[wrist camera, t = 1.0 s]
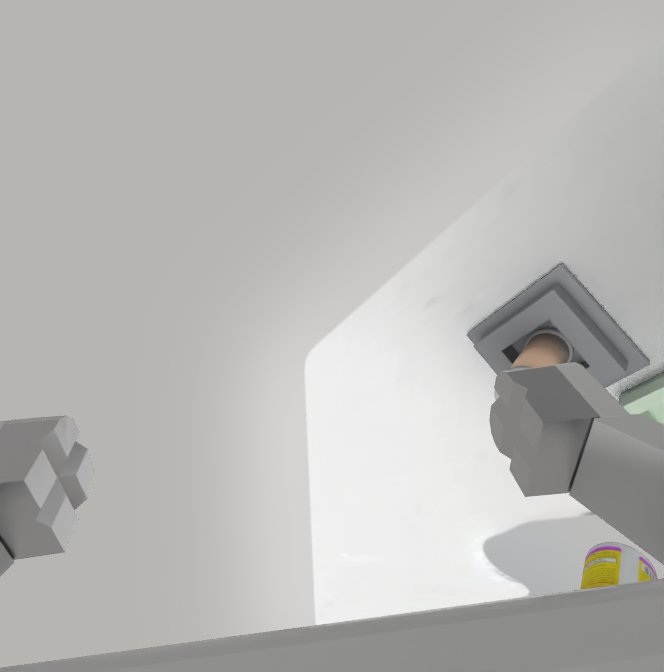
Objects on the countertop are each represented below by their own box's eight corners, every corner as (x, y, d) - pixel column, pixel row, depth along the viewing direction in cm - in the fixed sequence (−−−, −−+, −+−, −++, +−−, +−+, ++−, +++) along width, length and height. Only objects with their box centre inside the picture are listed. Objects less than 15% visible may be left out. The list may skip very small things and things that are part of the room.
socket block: (562, 263, 45) (555, 271, 42) (649, 360, 44) (649, 376, 41) (469, 332, 53) (457, 343, 49) (541, 418, 51) (533, 435, 48)
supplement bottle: (577, 568, 54) (558, 663, 44) (599, 528, 51) (585, 619, 41) (641, 603, 51) (637, 713, 41) (669, 562, 48) (673, 670, 38)
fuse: (553, 319, 46) (526, 360, 37) (583, 354, 46) (564, 405, 36) (517, 343, 49) (483, 387, 40) (545, 376, 48) (518, 429, 39)
